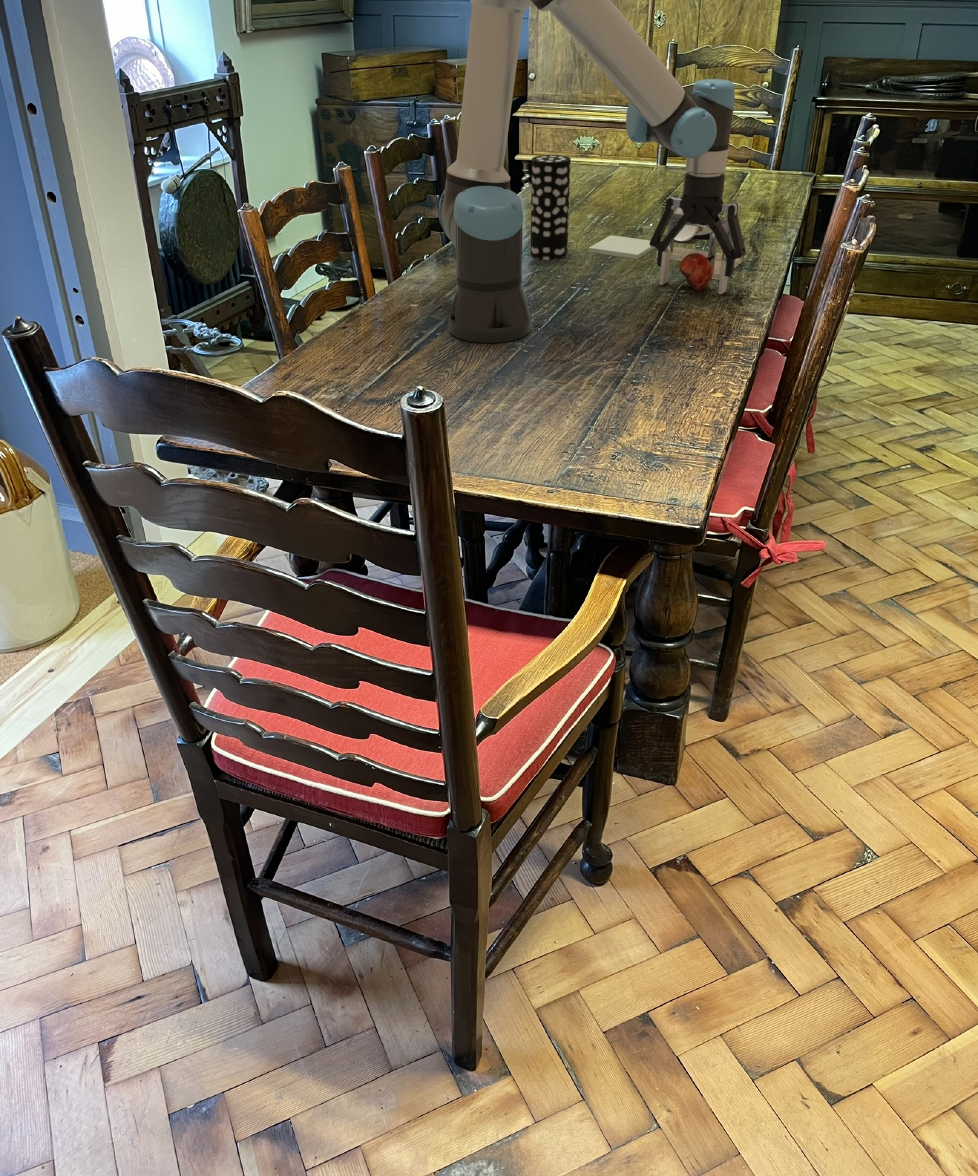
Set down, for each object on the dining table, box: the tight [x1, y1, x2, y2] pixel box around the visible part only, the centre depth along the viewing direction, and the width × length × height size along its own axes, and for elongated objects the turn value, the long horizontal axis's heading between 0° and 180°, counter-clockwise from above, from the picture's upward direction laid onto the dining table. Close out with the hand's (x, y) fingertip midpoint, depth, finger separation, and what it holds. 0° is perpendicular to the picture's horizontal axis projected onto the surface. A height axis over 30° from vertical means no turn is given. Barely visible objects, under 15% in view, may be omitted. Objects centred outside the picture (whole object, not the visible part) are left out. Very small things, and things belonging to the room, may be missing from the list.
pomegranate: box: [673, 253, 715, 291], centre depth 187 cm, size 7×7×10 cm
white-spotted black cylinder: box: [530, 154, 572, 261], centre depth 204 cm, size 8×8×20 cm
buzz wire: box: [655, 212, 743, 281], centre depth 200 cm, size 15×18×9 cm
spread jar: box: [674, 193, 721, 243], centre depth 217 cm, size 12×11×12 cm
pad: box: [588, 234, 656, 260], centre depth 213 cm, size 12×12×1 cm
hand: (692, 287), depth 189 cm, fingers open, 12 cm apart
